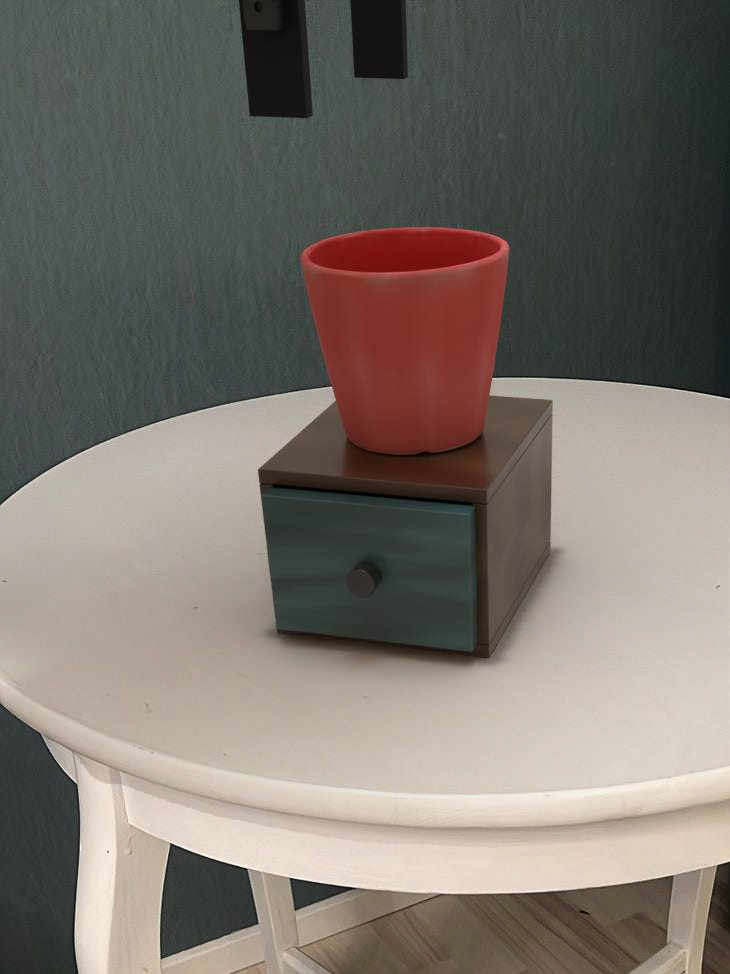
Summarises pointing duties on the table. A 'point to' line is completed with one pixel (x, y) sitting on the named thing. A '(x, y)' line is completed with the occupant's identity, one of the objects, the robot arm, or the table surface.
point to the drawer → (373, 566)
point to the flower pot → (409, 332)
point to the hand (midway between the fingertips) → (335, 96)
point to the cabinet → (449, 495)
